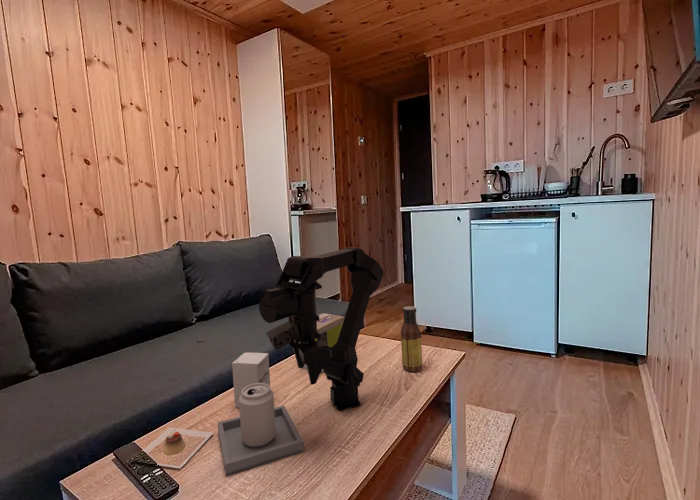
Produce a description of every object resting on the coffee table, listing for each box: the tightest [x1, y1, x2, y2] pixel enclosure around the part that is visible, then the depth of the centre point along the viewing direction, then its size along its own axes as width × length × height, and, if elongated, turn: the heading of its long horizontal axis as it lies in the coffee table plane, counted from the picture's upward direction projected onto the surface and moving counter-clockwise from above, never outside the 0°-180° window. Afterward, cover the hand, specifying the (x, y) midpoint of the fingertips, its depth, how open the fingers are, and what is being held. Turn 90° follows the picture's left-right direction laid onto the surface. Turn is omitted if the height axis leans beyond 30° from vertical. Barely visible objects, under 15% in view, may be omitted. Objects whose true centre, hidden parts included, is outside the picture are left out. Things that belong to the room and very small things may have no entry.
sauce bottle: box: [400, 305, 423, 372], centre depth 117 cm, size 6×6×20 cm
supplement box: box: [231, 352, 271, 409], centre depth 100 cm, size 7×7×13 cm
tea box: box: [296, 312, 345, 373], centre depth 124 cm, size 15×10×15 cm
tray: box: [217, 405, 305, 477], centre depth 84 cm, size 16×16×2 cm
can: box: [238, 383, 276, 447], centre depth 83 cm, size 8×8×12 cm
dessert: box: [141, 427, 214, 470], centre depth 83 cm, size 12×12×5 cm
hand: (306, 375), depth 87 cm, fingers open, 9 cm apart
